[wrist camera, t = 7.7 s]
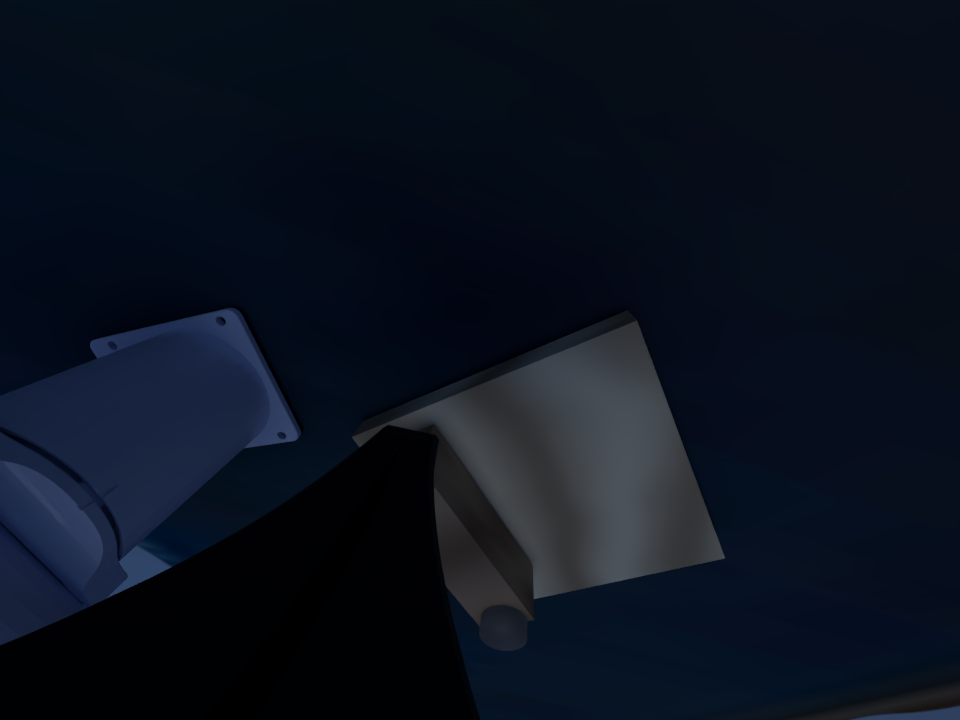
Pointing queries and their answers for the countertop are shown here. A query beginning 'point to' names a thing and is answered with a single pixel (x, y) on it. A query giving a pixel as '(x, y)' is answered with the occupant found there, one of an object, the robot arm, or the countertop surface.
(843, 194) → the countertop surface
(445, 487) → the stool leg
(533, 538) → the stool seat
